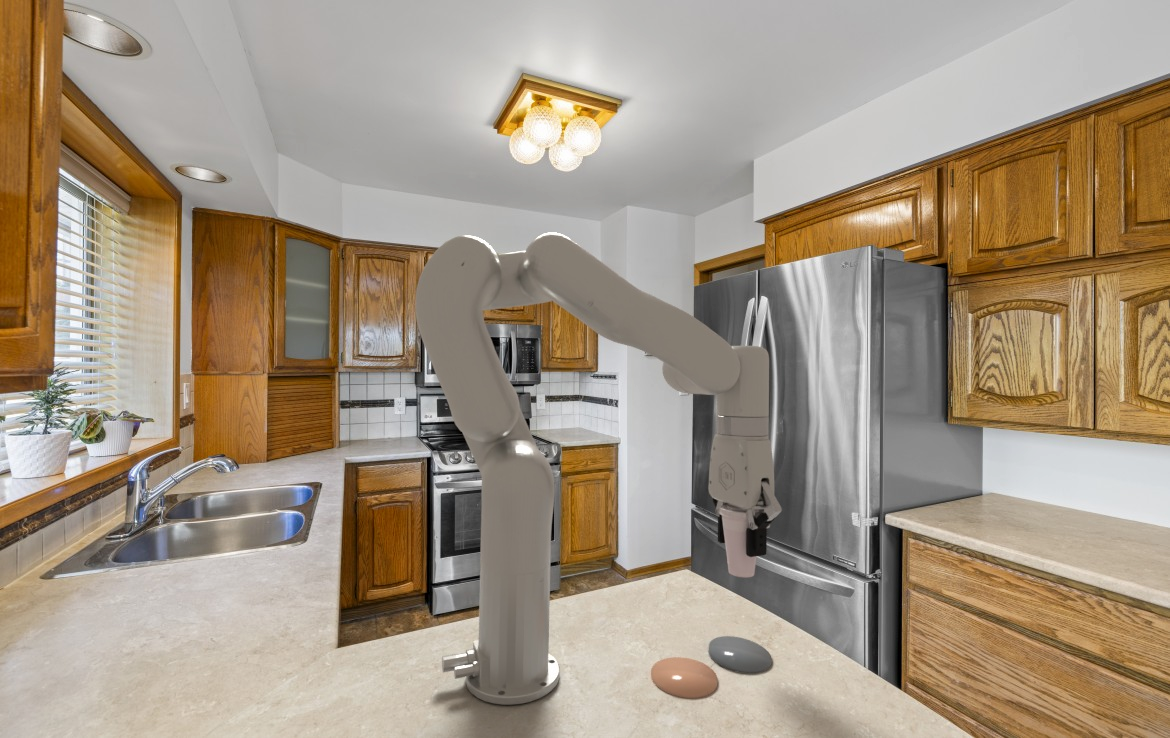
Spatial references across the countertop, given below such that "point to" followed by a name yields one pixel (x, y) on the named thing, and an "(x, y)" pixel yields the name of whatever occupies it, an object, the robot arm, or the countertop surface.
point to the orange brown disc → (684, 677)
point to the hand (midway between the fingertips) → (741, 547)
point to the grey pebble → (739, 654)
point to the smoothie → (737, 540)
